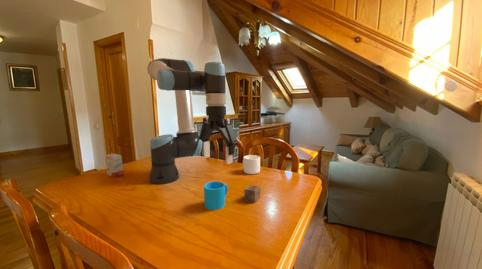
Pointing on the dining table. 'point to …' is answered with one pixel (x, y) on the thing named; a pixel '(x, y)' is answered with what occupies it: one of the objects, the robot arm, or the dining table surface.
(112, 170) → the ink box
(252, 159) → the mug
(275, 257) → the dining table surface
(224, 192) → the mug
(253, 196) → the walnut cube
